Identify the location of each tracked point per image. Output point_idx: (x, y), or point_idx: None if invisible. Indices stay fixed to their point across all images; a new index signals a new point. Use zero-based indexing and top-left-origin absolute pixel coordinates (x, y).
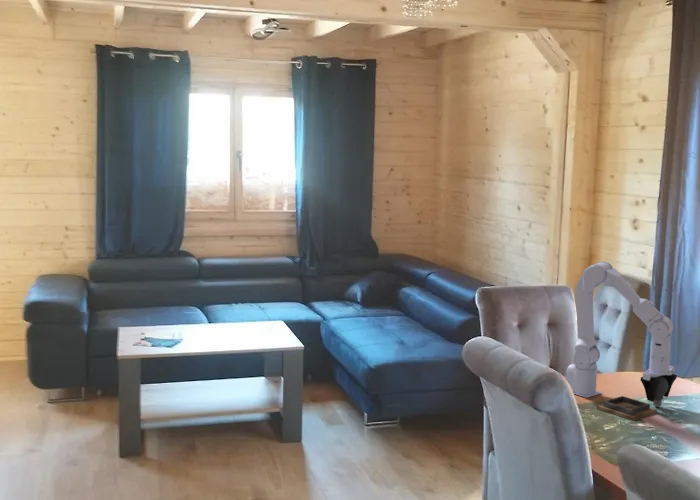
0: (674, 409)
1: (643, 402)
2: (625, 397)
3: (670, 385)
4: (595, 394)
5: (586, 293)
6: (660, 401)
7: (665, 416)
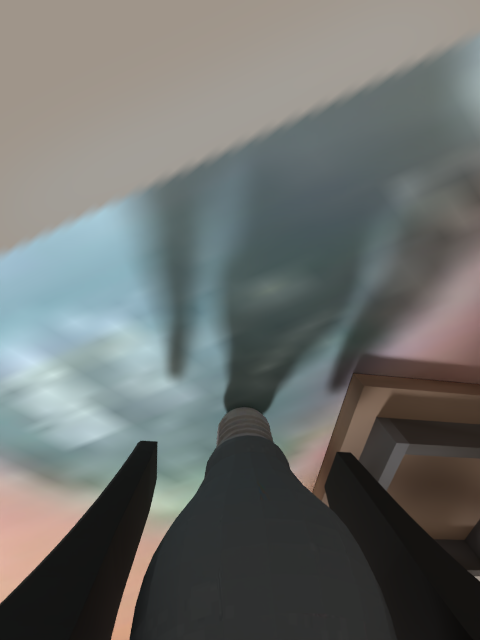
0: (199, 330)
1: (385, 478)
2: None
3: (91, 562)
4: None
5: None
6: (252, 431)
7: (390, 308)
